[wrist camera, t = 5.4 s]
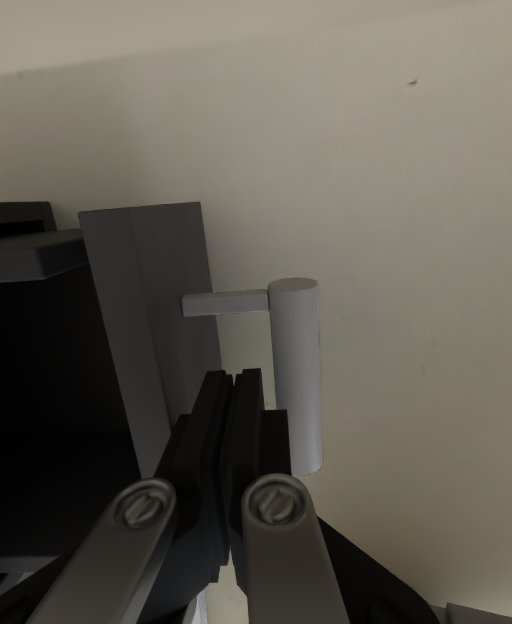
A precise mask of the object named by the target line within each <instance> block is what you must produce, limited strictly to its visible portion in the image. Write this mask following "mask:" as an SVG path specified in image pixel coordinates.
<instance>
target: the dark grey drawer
mask: <svg viewBox="0 0 512 624" xmlns="http://www.w3.org/2000/svg"><path fill="white" fill-rule="evenodd" d="M78 218H79V222H80V226H81V229H70V230H58V231H46V232H34V233H23V234H11V235H0V573H35V572H36V571H38V570H39V569H41V568H43V567H44V566H46V565H47V564H49V563H50V562H52V561H53V560H55V559H56V558H58V557H59V556H61V555H62V554H64V553H65V552H67V551H68V550H70V549H71V548H73V547H74V546H76V545H77V544H79V543H80V542H82V541H83V540H84V539H85V537H86V536H87V534H88V533H89V532H90V530H91V529H92V527H93V526H94V524H95V523H96V521H97V520H98V519H99V517H100V516H101V514H102V513H103V511H104V510H105V509H106V507H107V506H108V504H109V503H110V501H111V500H112V499H113V498H114V497H115V496H116V494H117V493H118V492H119V491H121V490H122V489H123V488H125V487H126V486H127V485H129V484H131V483H133V482H135V481H137V480H141V479H145V478H153V476H154V473H155V471H156V469H157V466H158V464H159V462H160V459H161V457H162V454H163V452H164V450H165V447H166V445H167V443H168V440H169V438H170V436H171V433H172V431H173V429H174V426H175V424H176V422H177V419H178V417H179V416H180V415H181V414H191V412H192V409H193V406H194V404H195V401H196V399H197V396H198V393H199V391H200V388H201V385H202V383H203V380H204V377H205V375H206V372H207V371H218V370H222V366H221V358H220V350H219V342H218V335H217V327H216V319H215V314H231V313H247V312H263V311H269V312H270V325H271V339H272V352H273V366H274V379H275V393H276V406H277V410H280V409H287V414H288V428H289V443H290V458H291V472H292V474H294V475H299V476H306V475H310V474H313V473H315V472H316V471H318V470H319V468H320V467H321V465H322V461H323V457H322V416H321V375H320V334H319V293H318V282H317V281H315V280H313V279H308V278H286V279H280V280H276V281H273V282H271V283H270V284H269V285H268V289H261V290H246V291H231V292H216V293H212V288H211V281H210V273H209V265H208V257H207V250H206V242H205V234H204V226H203V219H202V211H201V203H200V202H187V203H175V204H163V205H151V206H138V207H126V208H115V209H104V210H92V211H81V212H79V213H78ZM202 591H203V590H202ZM202 591H201V592H202Z"/></svg>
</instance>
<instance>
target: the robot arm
mask: <svg viewBox="0 0 512 624" xmlns="http://www.w3.org/2000/svg"><path fill="white" fill-rule="evenodd" d="M230 548H231V554H232V561H233V565H234V568H235V574H236V581H237V585H238V586H239V587H240V588H241V590H242V591H243V592H244V593H245V594H246V596H247V601H248V615H249V624H512V618H511V617H507V616H503V615H498V614H494V613H490V612H486V611H482V610H477V609H473V608H469V607H465V606H461V605H456V604H452V603H448V602H447V605H446V609H445V608H441V607H437V606H432V605H429V604H428V603H427V602H426V601H425V600H424V599H423V598H422V597H421V596H420V595H419V594H418V593H417V592H416V591H415V590H413V589H412V588H411V587H409V586H408V585H407V584H405V583H404V582H403V581H401V580H400V579H399V578H398V577H396V576H395V575H394V574H392V573H391V572H390V571H388V570H387V569H386V568H384V567H383V566H382V565H381V564H379V563H378V562H377V561H375V560H374V559H373V558H371V557H370V556H369V555H368V554H366V553H365V552H364V551H362V550H361V549H360V548H358V547H357V546H356V545H354V544H353V543H352V542H351V541H349V540H348V539H347V538H345V537H344V536H343V535H341V534H340V533H339V532H337V531H336V530H335V529H334V528H332V527H331V526H330V525H328V524H327V523H326V522H324V521H323V520H322V519H321V518H319V517H318V516H317V515H316V512H315V509H314V506H313V502H312V499H311V496H310V494H309V492H308V490H307V488H306V486H305V485H304V484H303V483H302V482H301V481H300V480H298V479H296V478H294V477H292V472H291V458H290V443H289V428H288V414H287V409H280V410H265V407H264V396H263V385H262V375H261V368H254V369H243V371H242V374H236V378H235V383H234V385H233V377H232V374H228V375H226V372H225V370H218V371H207V372H206V375H205V377H204V380H203V383H202V385H201V388H200V391H199V393H198V396H197V399H196V401H195V404H194V406H193V409H192V412H191V414H181V415H180V416H179V417H178V419H177V422H176V424H175V426H174V429H173V431H172V433H171V436H170V438H169V440H168V443H167V445H166V447H165V450H164V452H163V454H162V457H161V459H160V462H159V464H158V466H157V469H156V471H155V473H154V476H153V478H145V479H141V480H137V481H135V482H133V483H131V484H129V485H127V486H126V487H125V488H123V489H122V490H121V491H119V492H118V493H117V494H116V496H115V497H114V498H113V499H112V500H111V501H110V503H109V504H108V506H107V507H106V509H105V510H104V511H103V513H102V514H101V516H100V517H99V519H98V520H97V521H96V523H95V524H94V526H93V527H92V529H91V530H90V532H89V533H88V534H87V536H86V537H85V539H84V540H83V541H82V542H80V543H79V544H77V545H76V546H74V547H73V548H71V549H70V550H68V551H67V552H65V553H64V554H62V555H61V556H59V557H58V558H56V559H55V560H53V561H52V562H50V563H49V564H47V565H46V566H44V567H43V568H41V569H39V570H38V571H36V572H35V573H33V574H32V575H30V576H29V577H27V578H26V579H24V580H23V581H21V582H20V583H18V584H17V585H15V586H14V587H12V588H11V589H9V590H8V591H6V592H5V593H3V594H2V595H0V624H192V621H193V618H194V615H195V612H196V606H197V595H198V594H199V593H200V592H201V591H202V590H203V589H204V588H205V587H206V586H207V585H208V584H209V583H218V578H219V571H220V566H227V564H228V560H229V552H230Z"/></svg>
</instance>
